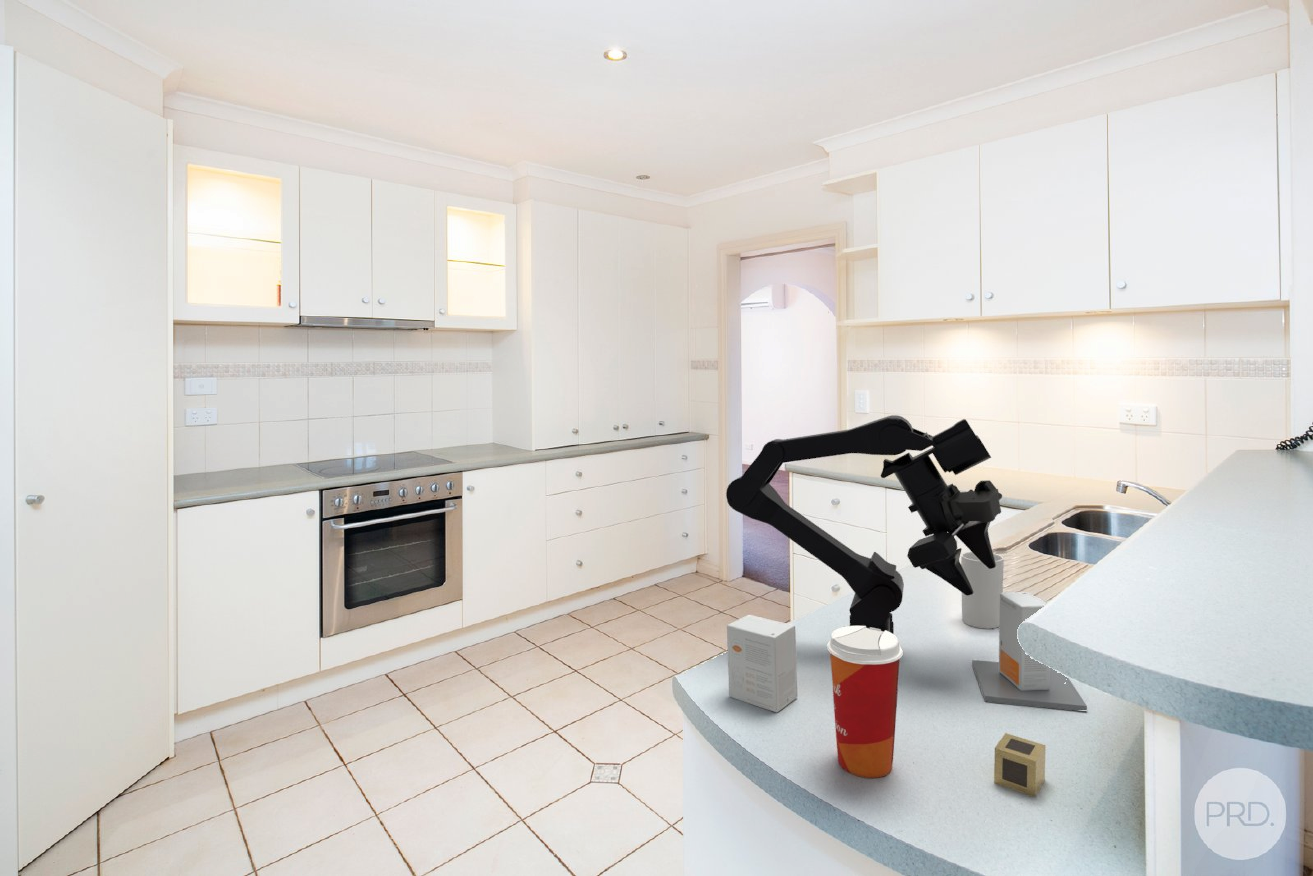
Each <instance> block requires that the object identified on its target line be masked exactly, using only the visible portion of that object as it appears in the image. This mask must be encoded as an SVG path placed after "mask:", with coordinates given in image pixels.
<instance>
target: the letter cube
mask: <svg viewBox="0 0 1313 876" xmlns="http://www.w3.org/2000/svg"><path fill="white" fill-rule="evenodd" d="M993 764H994V767H993V768H994V769H993V770H994V772H993V773H994V774H993V775H994V777H993V783H994V784H998V785H999V786H1003V787H1005V788H1009V789H1011V790H1013V791H1017V792H1020V793H1023V794H1025V795H1029V796H1031V797H1034V798H1036V796H1037V795H1038V793H1039V791H1040V789H1041V787H1042V786H1043V784H1044V782H1045V780H1046V744H1044V743H1039V742H1037V741H1032V740H1029V739H1026V738H1023V737H1019V736H1017V735H1013V734H1010V733H1008V732H1005V733H1004V735H1003V736H1002V737H1001V738H1000V740H999V741H998V743H997V744H996V746H994V763H993Z"/></svg>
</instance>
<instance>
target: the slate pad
mask: <svg viewBox="0 0 1313 876" xmlns="http://www.w3.org/2000/svg"><path fill="white" fill-rule="evenodd" d="M971 666H972V669H973V671H974V674H975V677H976V680H977V683H978V684H979V689H980V690H981V691H980V692H981V694H982V696H983V699H984V702H985V703H993V704H994V703H996V704H1005V705H1006V704H1007V705H1016V706H1017V705H1018V706H1026V707H1035V708H1043V707H1045V708H1044V709H1052V708H1055V710H1062V709H1067V710H1066V711H1069V710H1068V709H1071V710H1070V711H1072V710H1087V711H1088V705H1087V704H1086V701H1084V699H1083V698H1082V696H1081V694H1080V693H1079V691H1077V689H1076V687H1075V685H1074V684H1073V682H1072V681H1071V680H1070V678H1069V677H1068V678H1067V677H1065V676H1064V675H1062V674H1061V673H1057V671H1055V670H1053V669H1052V668H1050V689H1049V690H1028V691H1021V690H1019V689H1018V688H1017V687H1016V686H1015V685H1014V684H1013V683H1012V682H1011V681H1010V680H1008V679H1007V678H1006V677H1005V676H1004V675H1003V674H1001V673H1000V672H999V661H990V660H989V661H988V660H978V659H977V660H976V659H972V660H971ZM1066 679H1067V680H1066ZM1065 682H1066V684H1064V683H1065ZM1056 708H1058V709H1056Z"/></svg>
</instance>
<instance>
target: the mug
mask: <svg viewBox="0 0 1313 876" xmlns="http://www.w3.org/2000/svg"><path fill="white" fill-rule="evenodd" d="M993 556H994V560H995V564H996V567H995V568H992V569H989V568H988V567H987V566H985V565H984V564H983V563H982V562H981V561H980V560H979V559H978V558H977V557H976V556H975V555H974V554H973V553H972V552H971V551H966V552H963V553H961V554H960V557H961V558H960V564H961V566H962V568H963V570H964V572H965V574H966V576H967V578H968V580H969V582H970V584H971V587H972V589H973V592H974V593H973V594H972V595H968V596H967V595H965V594H964V593H962V592H961V617H962V619H961V620H962V623H964V624H965V625H967V626H970V627H973V628H977V629H983V630H984V629H987V630H988V629H991V630H992V628H993V629H997V627H998V628H999V619H1000V593H1004V591H1003V589H1004V586H1003V584H1004V565H1005V562H1004V560H1005V559H1004V557H1003V556H1002V555H1000V554H997V553H994V552H993Z"/></svg>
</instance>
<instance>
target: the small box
mask: <svg viewBox="0 0 1313 876" xmlns="http://www.w3.org/2000/svg"><path fill="white" fill-rule="evenodd" d="M796 637H797V635H796V625H794V624H790V623H787V622H786V623H785V622H781V621H777V620H773V619H769V618H765V617H760V616H757V615H753V614H747V615H745V616H743V617H741V618H739V619H737V620H735V621H733V622H731V623H729V624H727V625H726V639H727V641H726V643H727V644H726V645H727V666H728V667H727V668H728V670H727V672H728V695H729V697H730V698H733V699H736V700H738V701H741V702H744V703H747V704H749V705H754V706H756V707H759V708H761V709H765V710H768V711H771V712H774V713H779V712H780V711H781V710H782V709H784V708H785V707H787V706H788V705H789V704H790V703H792V702H794V700H796V699H797V698H798V673H797V672H798V671H797V663H798V662H797V639H796Z"/></svg>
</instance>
